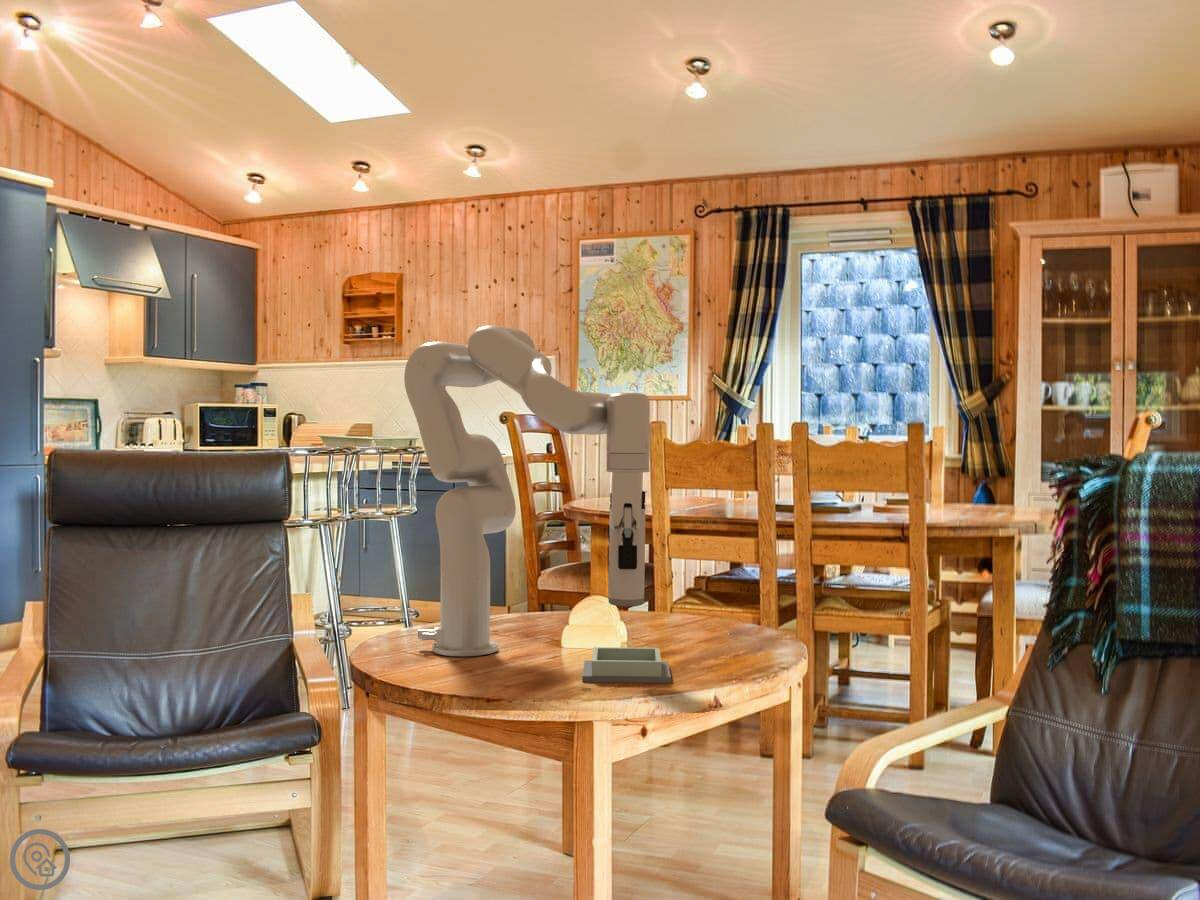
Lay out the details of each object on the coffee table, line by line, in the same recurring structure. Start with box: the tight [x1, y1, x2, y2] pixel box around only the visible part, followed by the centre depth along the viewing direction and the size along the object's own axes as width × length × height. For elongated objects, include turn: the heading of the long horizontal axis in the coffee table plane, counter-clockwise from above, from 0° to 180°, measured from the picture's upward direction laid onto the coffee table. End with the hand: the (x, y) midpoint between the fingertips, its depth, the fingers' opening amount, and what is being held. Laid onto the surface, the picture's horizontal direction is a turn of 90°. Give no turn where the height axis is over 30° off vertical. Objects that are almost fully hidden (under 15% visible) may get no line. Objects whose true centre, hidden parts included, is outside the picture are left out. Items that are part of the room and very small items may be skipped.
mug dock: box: [581, 646, 672, 684], centre depth 187 cm, size 15×12×4 cm
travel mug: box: [607, 490, 646, 607], centre depth 187 cm, size 6×7×20 cm
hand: (627, 565), depth 187 cm, fingers closed on travel mug, 6 cm apart
